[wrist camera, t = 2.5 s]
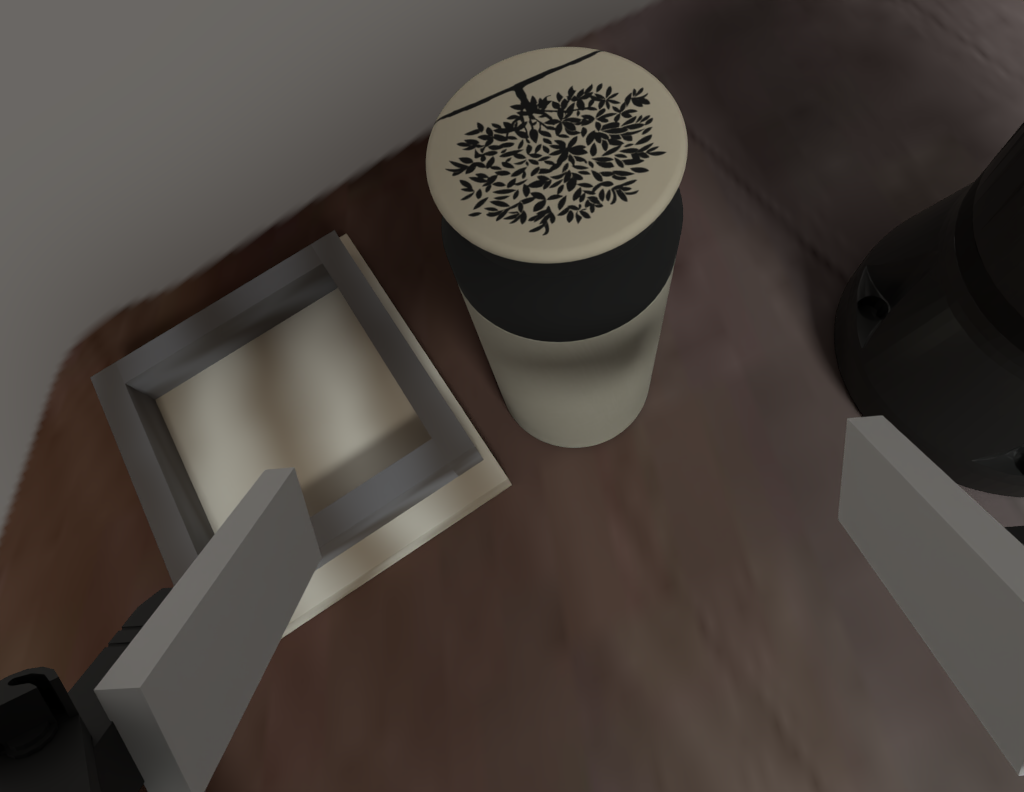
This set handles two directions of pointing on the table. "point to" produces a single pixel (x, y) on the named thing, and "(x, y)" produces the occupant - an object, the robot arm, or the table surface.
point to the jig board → (299, 421)
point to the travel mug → (563, 231)
